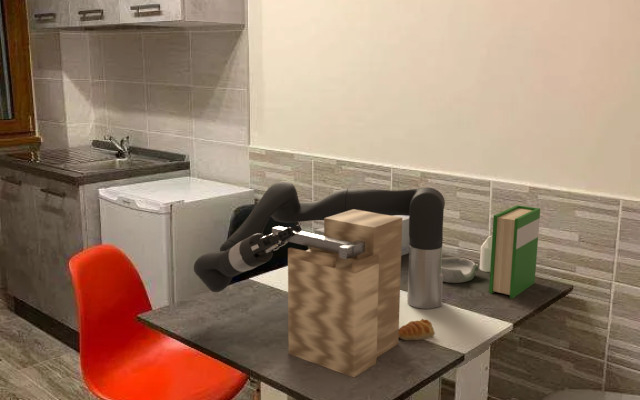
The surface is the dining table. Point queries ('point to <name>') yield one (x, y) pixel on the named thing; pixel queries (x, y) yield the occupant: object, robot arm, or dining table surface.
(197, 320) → the dining table surface
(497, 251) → the hardback book
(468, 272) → the dish
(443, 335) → the dining table surface
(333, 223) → the stand
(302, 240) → the t handle
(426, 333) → the pastry
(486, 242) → the white bottle
